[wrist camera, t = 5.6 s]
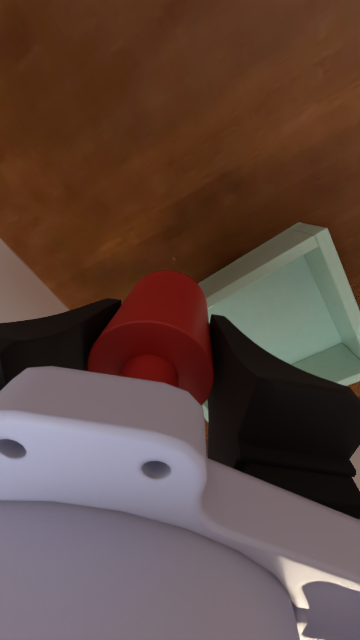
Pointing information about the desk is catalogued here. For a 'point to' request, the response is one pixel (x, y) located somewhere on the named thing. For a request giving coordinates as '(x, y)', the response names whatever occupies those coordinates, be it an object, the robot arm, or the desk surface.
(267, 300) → the tray
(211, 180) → the desk surface
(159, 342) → the bottle
